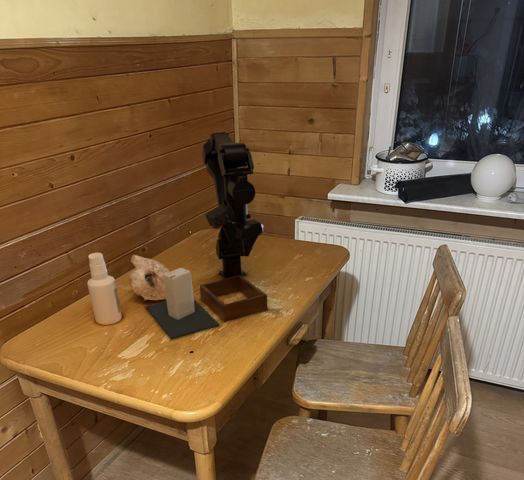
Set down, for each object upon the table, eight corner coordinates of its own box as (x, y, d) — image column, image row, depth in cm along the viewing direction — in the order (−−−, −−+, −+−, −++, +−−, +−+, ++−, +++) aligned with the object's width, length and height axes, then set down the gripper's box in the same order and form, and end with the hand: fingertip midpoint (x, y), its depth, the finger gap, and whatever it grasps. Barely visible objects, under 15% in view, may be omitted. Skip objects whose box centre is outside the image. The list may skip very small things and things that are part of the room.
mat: (146, 308, 140) (145, 306, 139) (189, 297, 145) (189, 295, 144) (171, 339, 125) (170, 337, 124) (219, 325, 130) (219, 323, 129)
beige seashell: (178, 316, 148) (184, 297, 143) (128, 315, 142) (132, 295, 137) (168, 274, 159) (173, 255, 153) (121, 271, 153) (125, 251, 147)
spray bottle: (127, 315, 136) (114, 251, 127) (112, 326, 131) (99, 261, 121) (105, 311, 138) (91, 248, 129) (90, 323, 133) (75, 258, 123)
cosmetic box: (185, 308, 138) (180, 266, 131) (196, 313, 135) (191, 270, 128) (167, 316, 134) (161, 273, 127) (178, 321, 131) (172, 278, 125)
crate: (200, 299, 143) (199, 284, 141) (241, 289, 148) (240, 274, 146) (224, 322, 131) (223, 306, 129) (267, 309, 137) (267, 294, 134)
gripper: (193, 191, 137) (199, 247, 145) (223, 208, 123) (227, 268, 131) (230, 185, 141) (234, 239, 149) (263, 200, 127) (265, 259, 135)
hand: (239, 251), depth 141 cm, fingers open, 9 cm apart
